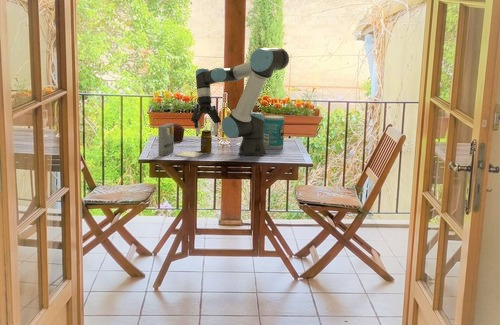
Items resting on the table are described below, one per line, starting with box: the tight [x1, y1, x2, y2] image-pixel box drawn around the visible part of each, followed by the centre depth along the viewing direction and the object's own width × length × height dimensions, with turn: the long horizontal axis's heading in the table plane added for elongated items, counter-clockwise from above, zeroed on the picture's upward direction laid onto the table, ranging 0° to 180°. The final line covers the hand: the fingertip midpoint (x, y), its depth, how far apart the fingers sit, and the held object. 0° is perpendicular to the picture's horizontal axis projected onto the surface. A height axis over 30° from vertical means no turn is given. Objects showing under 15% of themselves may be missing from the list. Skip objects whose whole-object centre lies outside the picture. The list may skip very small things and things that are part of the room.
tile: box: [175, 150, 203, 159], centre depth 392 cm, size 11×11×1 cm
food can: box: [263, 114, 285, 150], centre depth 420 cm, size 12×12×18 cm
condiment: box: [195, 129, 215, 155], centre depth 400 cm, size 7×8×12 cm
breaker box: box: [158, 122, 175, 157], centre depth 391 cm, size 4×12×16 cm, turn 160°
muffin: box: [173, 123, 186, 143], centre depth 433 cm, size 12×11×10 cm
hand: (207, 134), depth 398 cm, fingers open, 13 cm apart
